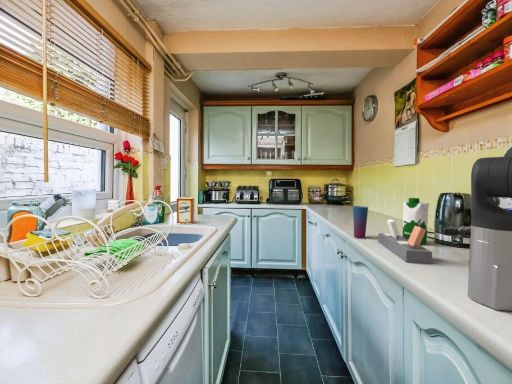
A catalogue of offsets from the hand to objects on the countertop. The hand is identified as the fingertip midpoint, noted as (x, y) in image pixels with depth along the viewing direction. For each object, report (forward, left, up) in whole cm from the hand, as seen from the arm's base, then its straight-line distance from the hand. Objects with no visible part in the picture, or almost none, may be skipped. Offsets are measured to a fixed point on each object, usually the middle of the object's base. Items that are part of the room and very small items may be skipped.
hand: (443, 231), depth 87 cm
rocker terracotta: (0, +10, -5) cm, 11 cm away
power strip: (+13, +10, -10) cm, 19 cm away
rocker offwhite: (+14, +10, -5) cm, 18 cm away
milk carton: (+25, -2, -10) cm, 27 cm away
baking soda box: (+53, +119, -10) cm, 131 cm away
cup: (+31, +20, -10) cm, 38 cm away
